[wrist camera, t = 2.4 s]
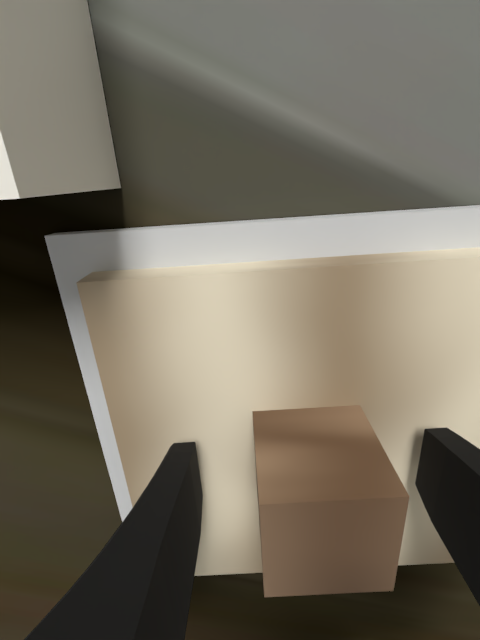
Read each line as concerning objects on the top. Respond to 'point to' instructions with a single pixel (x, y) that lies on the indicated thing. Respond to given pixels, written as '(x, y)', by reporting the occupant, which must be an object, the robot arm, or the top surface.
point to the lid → (295, 402)
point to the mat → (233, 247)
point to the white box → (52, 102)
